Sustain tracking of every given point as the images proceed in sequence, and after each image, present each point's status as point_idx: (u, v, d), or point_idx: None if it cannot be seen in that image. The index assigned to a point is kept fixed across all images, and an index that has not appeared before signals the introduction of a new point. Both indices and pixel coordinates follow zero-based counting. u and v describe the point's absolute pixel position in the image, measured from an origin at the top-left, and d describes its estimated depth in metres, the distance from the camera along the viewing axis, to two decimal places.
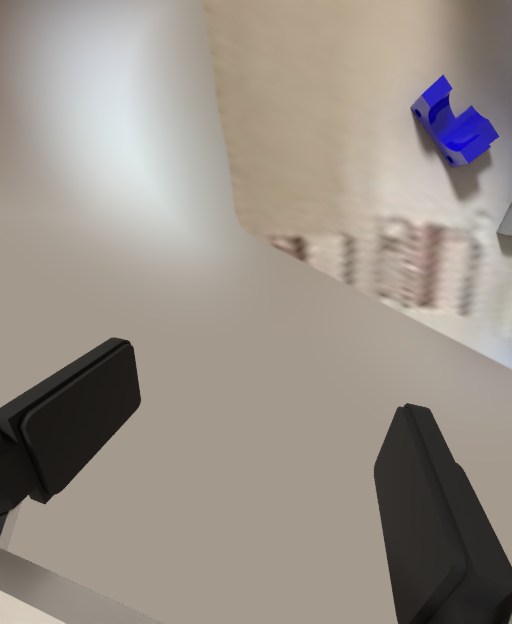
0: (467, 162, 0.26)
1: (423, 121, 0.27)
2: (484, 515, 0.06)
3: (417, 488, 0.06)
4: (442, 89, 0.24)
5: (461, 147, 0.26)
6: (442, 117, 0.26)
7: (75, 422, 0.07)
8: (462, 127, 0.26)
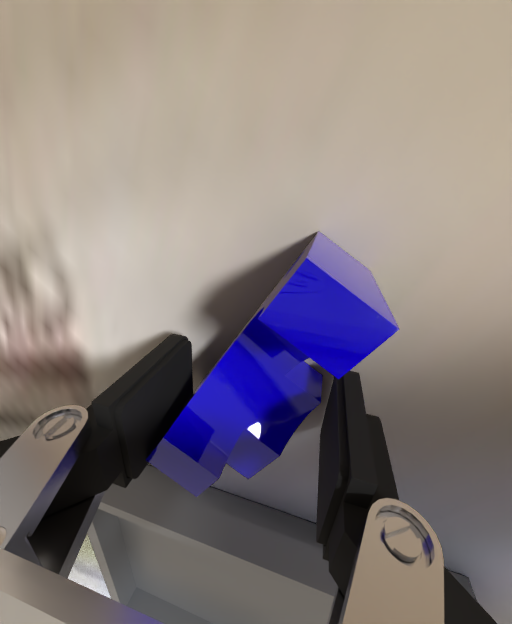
0: (149, 456, 0.08)
1: (272, 291, 0.08)
2: (386, 451, 0.07)
3: (334, 430, 0.07)
4: (334, 343, 0.05)
5: (186, 430, 0.08)
6: (282, 344, 0.08)
7: (151, 412, 0.08)
8: (263, 398, 0.09)
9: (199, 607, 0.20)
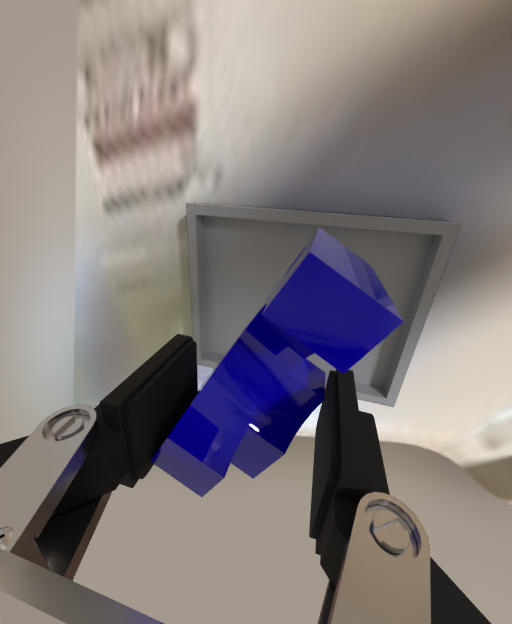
0: (153, 457, 0.08)
1: (274, 289, 0.08)
2: (378, 447, 0.07)
3: (327, 427, 0.07)
4: (338, 338, 0.05)
5: (190, 429, 0.08)
6: (284, 341, 0.08)
7: (158, 412, 0.08)
8: (266, 396, 0.09)
9: None
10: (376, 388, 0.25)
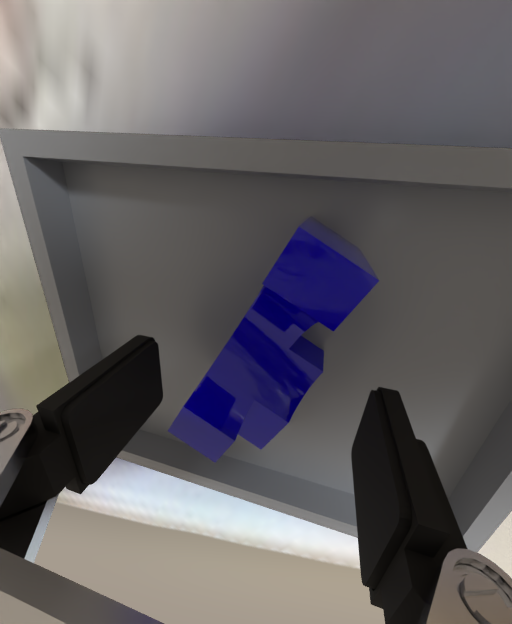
0: (170, 427, 0.09)
1: None
2: (439, 483, 0.06)
3: (380, 459, 0.06)
4: (327, 299, 0.06)
5: (203, 400, 0.09)
6: (284, 318, 0.09)
7: (108, 415, 0.08)
8: (270, 371, 0.10)
9: None
10: None
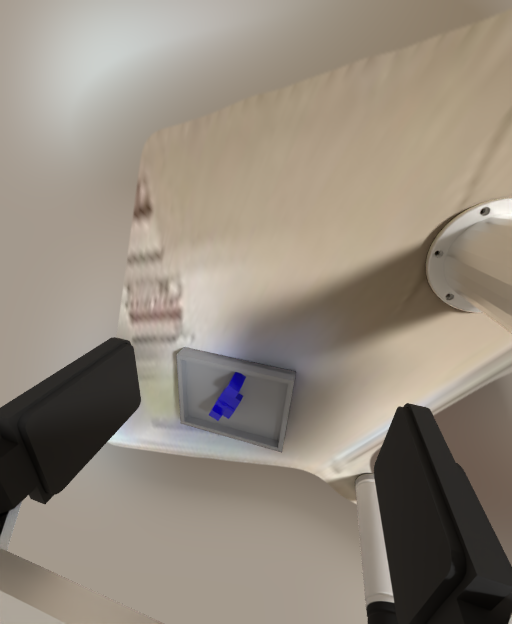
0: (208, 414, 0.44)
1: (229, 381, 0.44)
2: (484, 515, 0.06)
3: (417, 488, 0.06)
4: (233, 394, 0.41)
5: (215, 408, 0.44)
6: None
7: (75, 422, 0.07)
8: (229, 401, 0.44)
9: None
10: (275, 441, 0.47)
